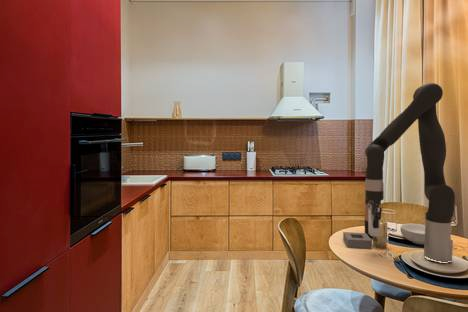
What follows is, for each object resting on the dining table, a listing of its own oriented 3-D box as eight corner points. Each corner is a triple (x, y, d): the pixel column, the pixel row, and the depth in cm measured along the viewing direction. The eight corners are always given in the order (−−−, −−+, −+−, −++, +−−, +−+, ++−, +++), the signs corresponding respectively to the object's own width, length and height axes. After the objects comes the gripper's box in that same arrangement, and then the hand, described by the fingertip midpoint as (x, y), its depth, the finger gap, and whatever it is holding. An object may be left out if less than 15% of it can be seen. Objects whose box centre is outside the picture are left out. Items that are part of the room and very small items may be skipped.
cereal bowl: (420, 249, 140) (420, 235, 140) (392, 238, 156) (392, 224, 156) (448, 246, 145) (448, 231, 144) (418, 235, 161) (419, 222, 160)
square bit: (377, 233, 137) (377, 207, 137) (380, 236, 134) (380, 209, 133) (368, 233, 138) (368, 207, 137) (370, 236, 134) (370, 209, 133)
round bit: (384, 244, 147) (385, 220, 146) (388, 249, 141) (389, 224, 140) (371, 244, 148) (372, 220, 147) (374, 248, 142) (375, 223, 141)
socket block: (365, 240, 153) (365, 233, 152) (371, 248, 142) (372, 240, 142) (343, 239, 155) (343, 232, 154) (347, 247, 144) (347, 239, 143)
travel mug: (361, 234, 162) (362, 198, 161) (373, 233, 164) (374, 197, 162) (370, 239, 155) (371, 201, 153) (383, 238, 156) (384, 200, 155)
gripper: (388, 191, 127) (388, 231, 128) (378, 186, 141) (378, 222, 142) (369, 191, 128) (369, 231, 129) (361, 186, 142) (361, 221, 143)
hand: (374, 226), depth 136 cm, fingers closed on square bit, 4 cm apart
